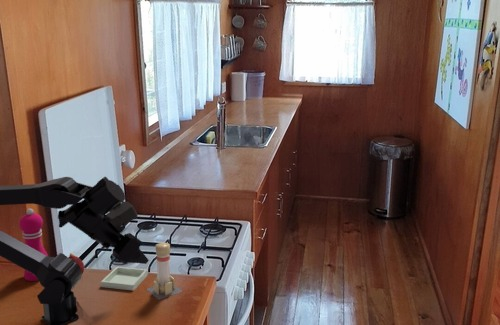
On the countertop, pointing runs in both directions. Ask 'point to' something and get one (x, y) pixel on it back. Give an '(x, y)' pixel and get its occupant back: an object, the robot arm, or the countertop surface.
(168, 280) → the white and tan post
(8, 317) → the countertop surface
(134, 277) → the tray
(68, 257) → the onion
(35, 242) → the pepper mill
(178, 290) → the grey stand with brackets
